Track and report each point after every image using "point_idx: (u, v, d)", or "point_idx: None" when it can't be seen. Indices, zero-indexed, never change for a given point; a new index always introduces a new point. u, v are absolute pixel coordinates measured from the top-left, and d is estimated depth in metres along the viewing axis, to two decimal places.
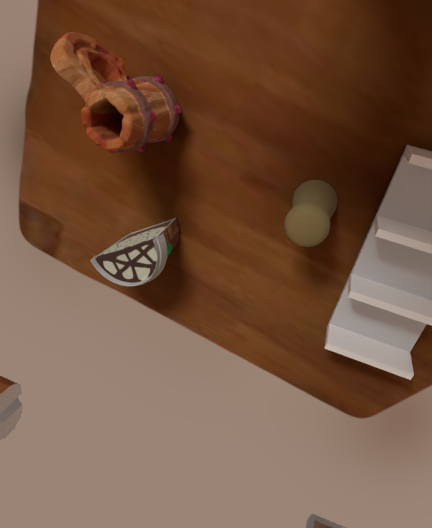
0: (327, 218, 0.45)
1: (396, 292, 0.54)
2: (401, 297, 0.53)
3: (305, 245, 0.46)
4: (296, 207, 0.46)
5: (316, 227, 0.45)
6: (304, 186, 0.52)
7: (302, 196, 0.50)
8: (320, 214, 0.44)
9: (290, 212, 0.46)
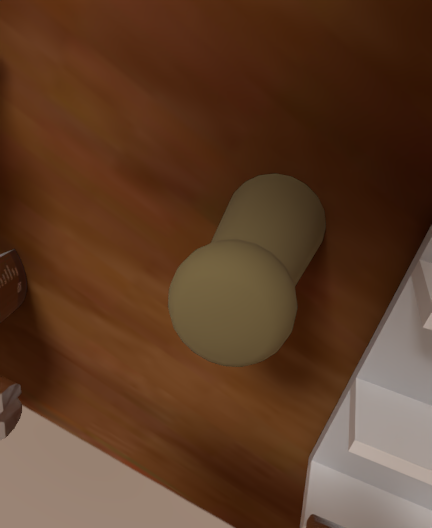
0: (285, 293, 0.15)
1: None
2: None
3: (225, 364, 0.16)
4: (194, 257, 0.15)
5: (250, 323, 0.14)
6: (246, 190, 0.22)
7: (231, 217, 0.19)
8: (261, 282, 0.14)
9: (179, 271, 0.16)
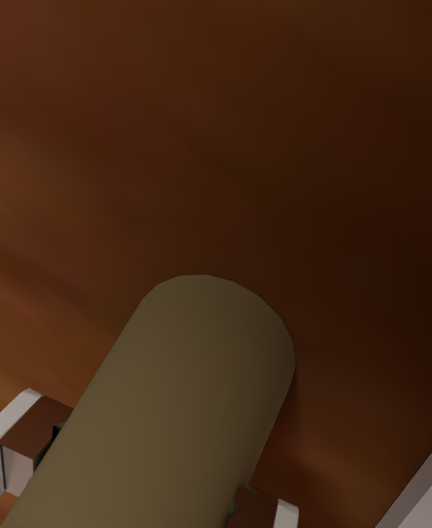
0: None
1: None
2: None
3: None
4: None
5: None
6: (148, 313, 0.12)
7: (94, 395, 0.10)
8: None
9: None
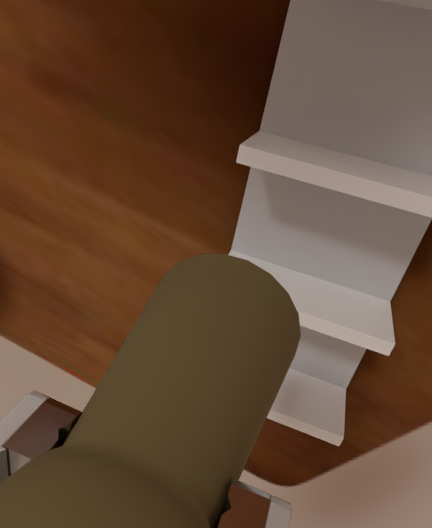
0: None
1: (307, 284, 0.28)
2: (314, 293, 0.28)
3: None
4: None
5: None
6: (172, 286, 0.14)
7: (130, 350, 0.11)
8: None
9: None
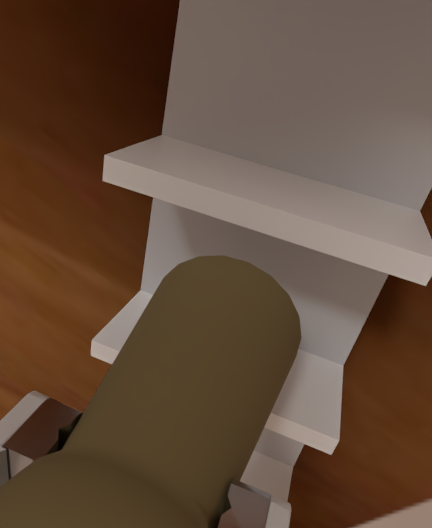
0: None
1: None
2: None
3: None
4: None
5: None
6: (172, 288, 0.14)
7: (131, 353, 0.11)
8: None
9: None
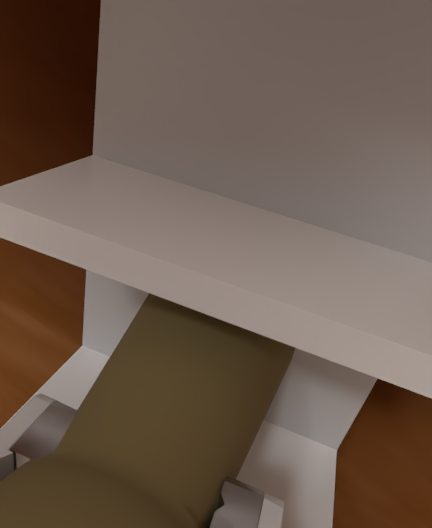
0: None
1: None
2: None
3: None
4: None
5: None
6: None
7: (123, 354, 0.11)
8: None
9: None
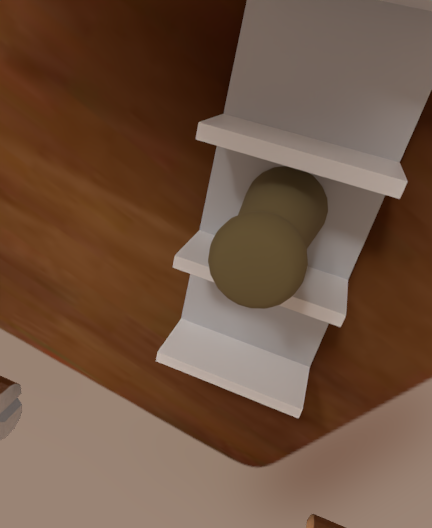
0: (300, 250, 0.20)
1: None
2: None
3: (251, 306, 0.21)
4: (231, 222, 0.20)
5: (273, 271, 0.19)
6: (264, 179, 0.27)
7: (254, 197, 0.24)
8: (283, 240, 0.19)
9: (219, 233, 0.20)
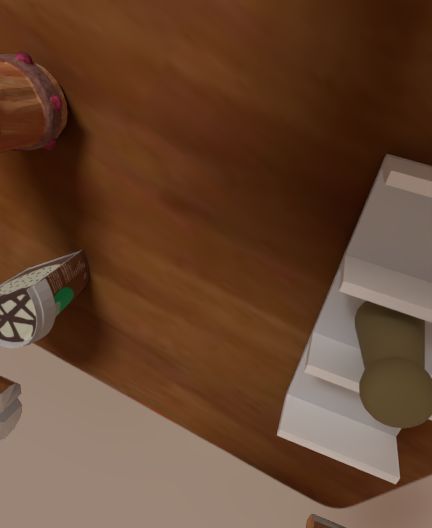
0: None
1: None
2: None
3: (394, 426, 0.29)
4: (383, 370, 0.28)
5: (418, 409, 0.27)
6: (379, 308, 0.35)
7: (380, 332, 0.33)
8: (425, 388, 0.27)
9: (373, 376, 0.29)
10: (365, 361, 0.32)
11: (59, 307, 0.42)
